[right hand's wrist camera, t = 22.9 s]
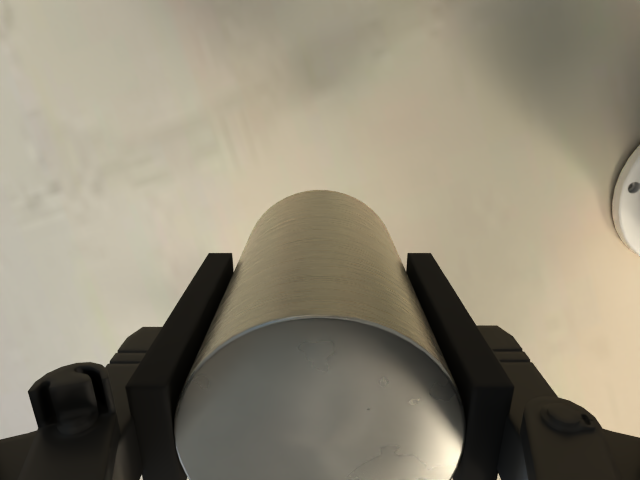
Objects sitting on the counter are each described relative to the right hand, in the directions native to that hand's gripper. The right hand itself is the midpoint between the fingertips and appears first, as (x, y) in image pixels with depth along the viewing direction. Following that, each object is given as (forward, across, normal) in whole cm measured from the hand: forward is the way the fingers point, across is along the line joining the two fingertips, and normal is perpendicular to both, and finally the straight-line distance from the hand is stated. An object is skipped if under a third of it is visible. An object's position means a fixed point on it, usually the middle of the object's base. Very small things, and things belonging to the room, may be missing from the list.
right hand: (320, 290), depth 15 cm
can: (+3, 0, 0) cm, 3 cm away
